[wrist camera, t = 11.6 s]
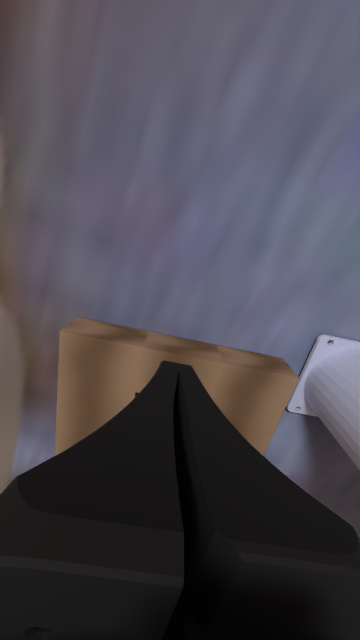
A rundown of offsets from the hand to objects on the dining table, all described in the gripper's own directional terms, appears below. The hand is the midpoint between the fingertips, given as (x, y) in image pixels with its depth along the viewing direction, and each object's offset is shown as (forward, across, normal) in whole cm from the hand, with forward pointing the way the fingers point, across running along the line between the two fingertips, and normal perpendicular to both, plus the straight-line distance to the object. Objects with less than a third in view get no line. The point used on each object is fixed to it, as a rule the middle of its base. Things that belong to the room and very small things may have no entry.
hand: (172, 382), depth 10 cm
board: (+9, -1, +9) cm, 13 cm away
